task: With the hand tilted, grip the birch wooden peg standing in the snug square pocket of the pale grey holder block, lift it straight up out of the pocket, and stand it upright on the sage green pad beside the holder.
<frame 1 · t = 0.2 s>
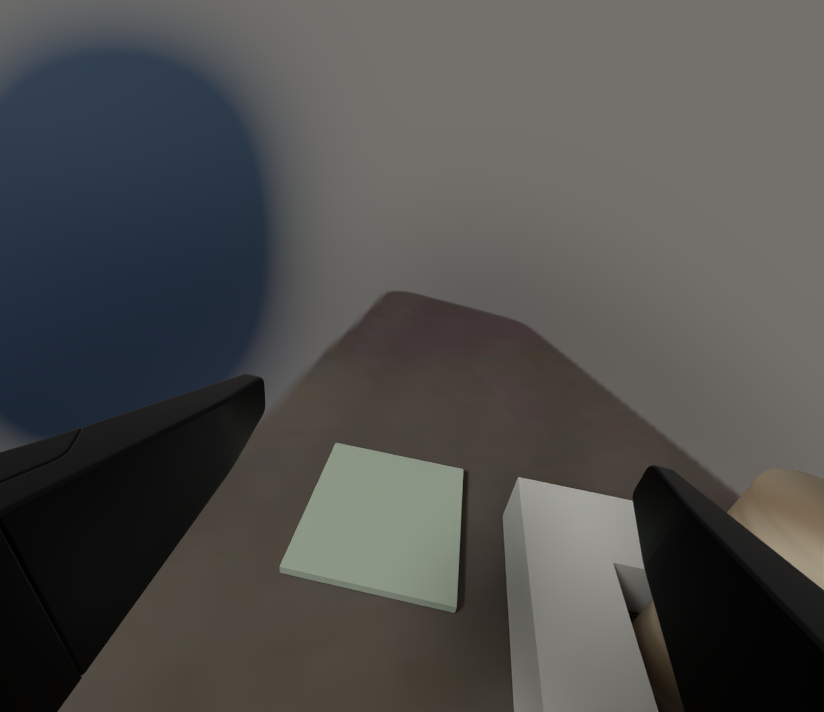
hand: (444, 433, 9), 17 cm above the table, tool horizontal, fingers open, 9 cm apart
green pad: (384, 516, 26), on the table
wooden peg: (737, 620, 17), in the pocket block
pocket block: (665, 682, 20), on the table
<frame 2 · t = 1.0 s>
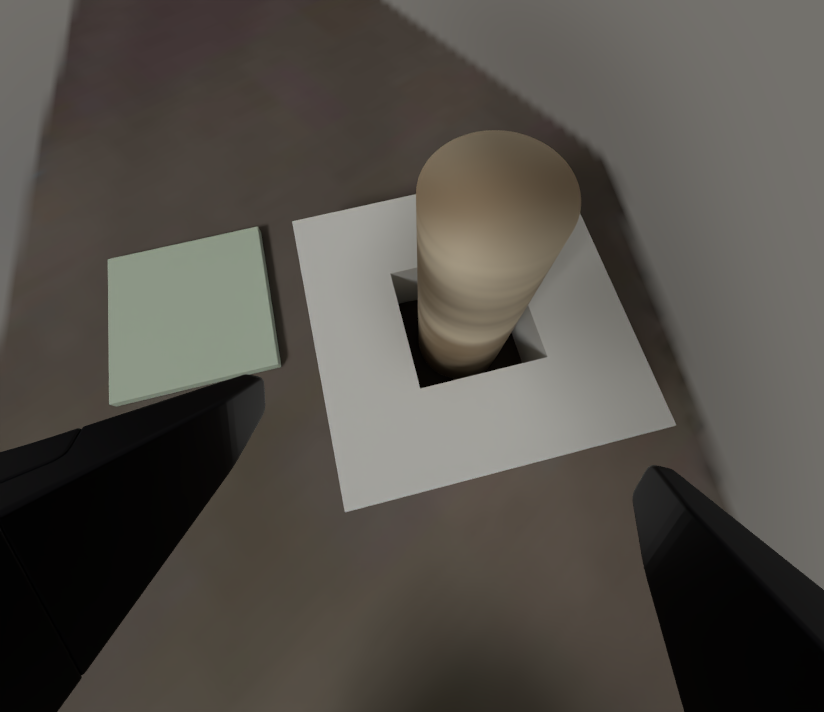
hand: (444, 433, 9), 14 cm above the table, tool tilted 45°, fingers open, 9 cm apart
green pad: (193, 313, 25), on the table
wooden peg: (471, 291, 18), in the pocket block
pocket block: (458, 339, 24), on the table
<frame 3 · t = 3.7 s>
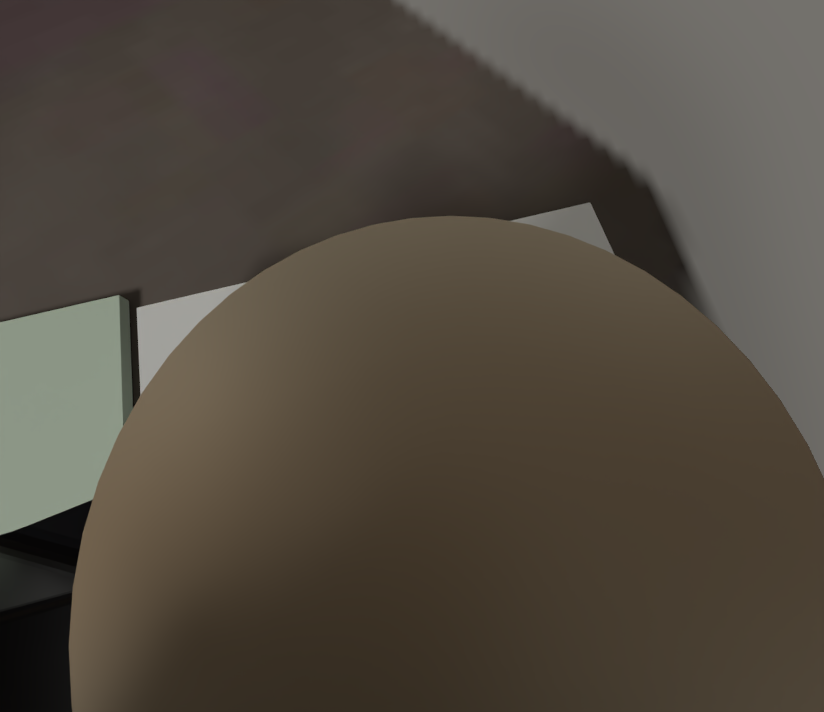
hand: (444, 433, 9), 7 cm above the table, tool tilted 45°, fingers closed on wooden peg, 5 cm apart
green pad: (9, 438, 16), on the table
wooden peg: (432, 495, 9), in the pocket block, touching gripper
pocket block: (427, 488, 15), on the table
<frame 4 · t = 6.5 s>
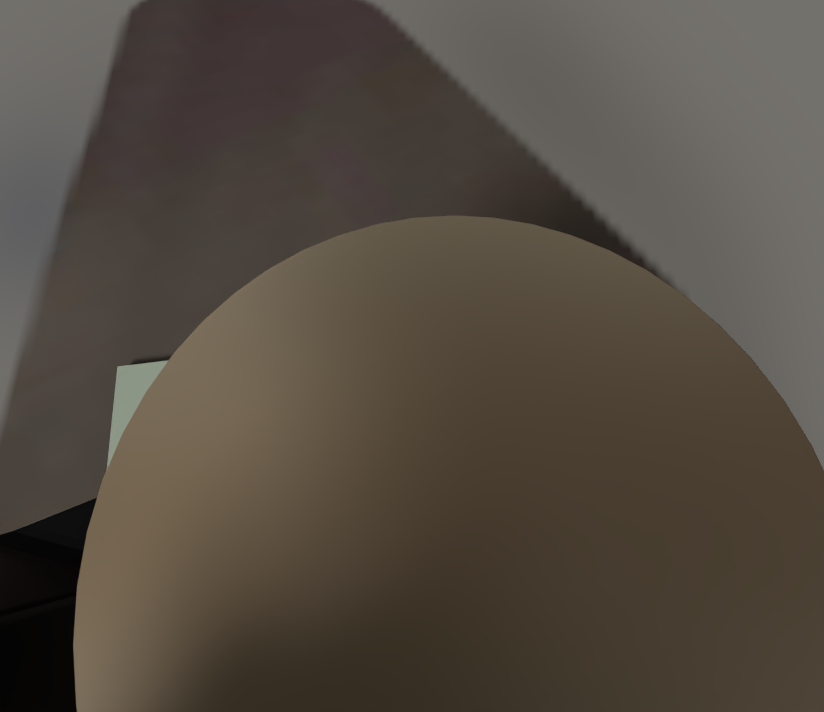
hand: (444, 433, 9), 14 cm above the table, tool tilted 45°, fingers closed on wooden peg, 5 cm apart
green pad: (203, 441, 23), on the table
wooden peg: (433, 495, 9), point 13 cm above the table, touching gripper
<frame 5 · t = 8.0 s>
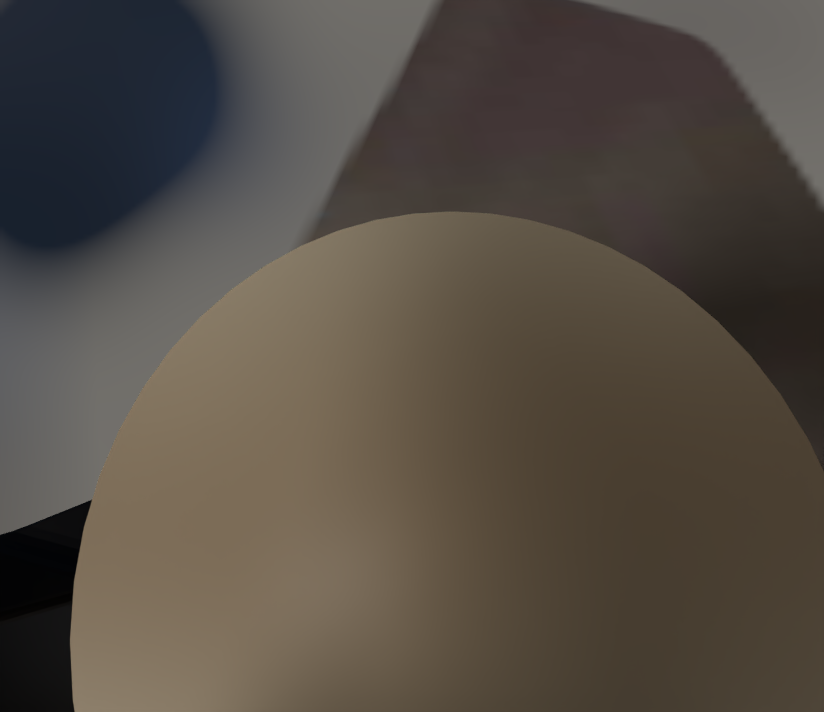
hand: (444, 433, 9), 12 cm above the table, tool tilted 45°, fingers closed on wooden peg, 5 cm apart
wooden peg: (432, 493, 9), point 12 cm above the table, touching gripper
when the fingers open (8 cm above the table, at t = 9.1 s): wooden peg drops 1 cm, resting on green pad.
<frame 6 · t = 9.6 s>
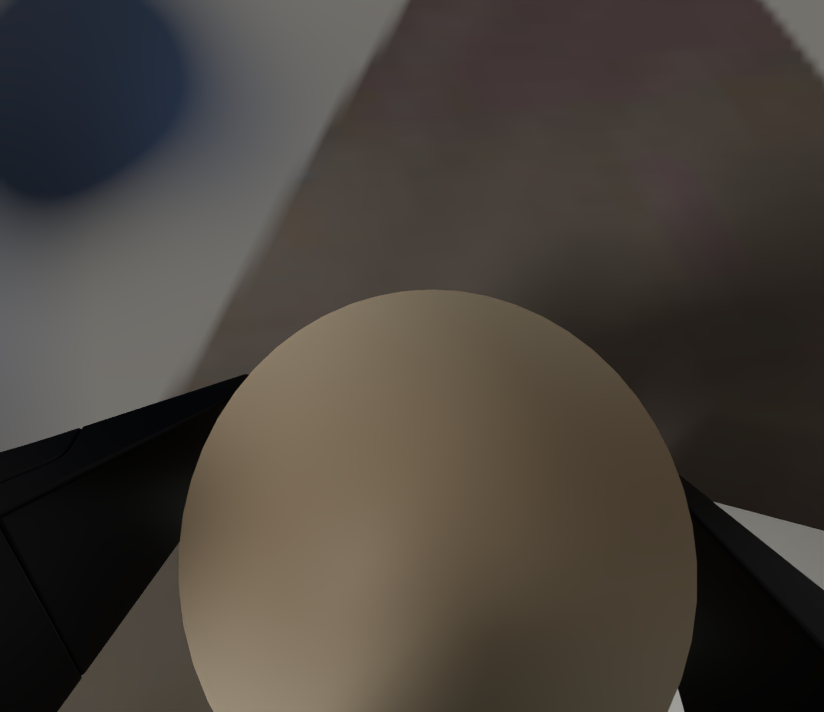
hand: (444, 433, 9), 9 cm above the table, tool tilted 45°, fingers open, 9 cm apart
wooden peg: (427, 494, 10), on the green pad, point 7 cm above the table
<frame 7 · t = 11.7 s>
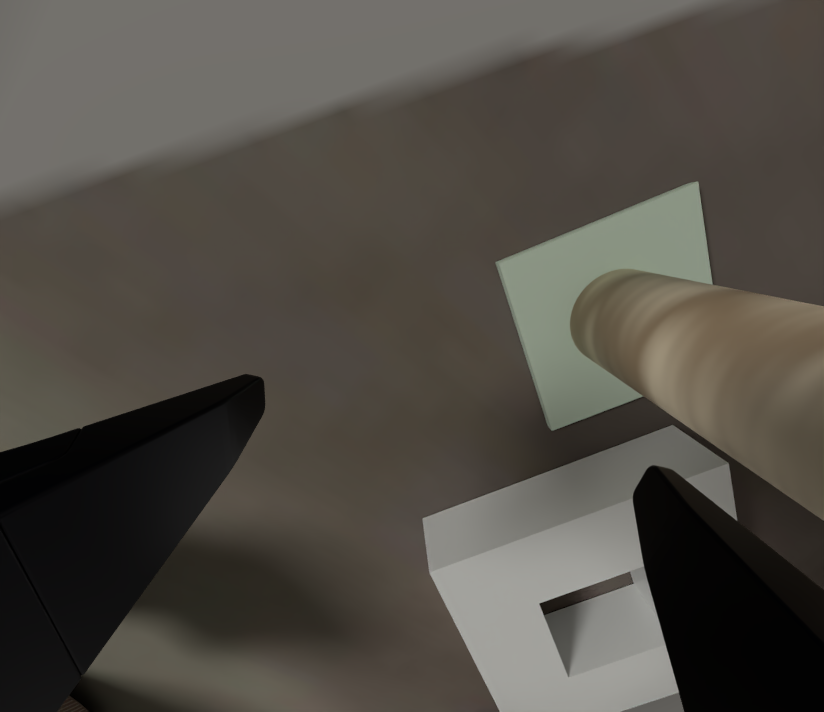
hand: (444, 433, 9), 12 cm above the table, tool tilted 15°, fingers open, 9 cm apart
green pad: (611, 315, 21), on the table
wooden peg: (716, 359, 14), on the green pad, point 7 cm above the table
pocket block: (576, 566, 26), on the table
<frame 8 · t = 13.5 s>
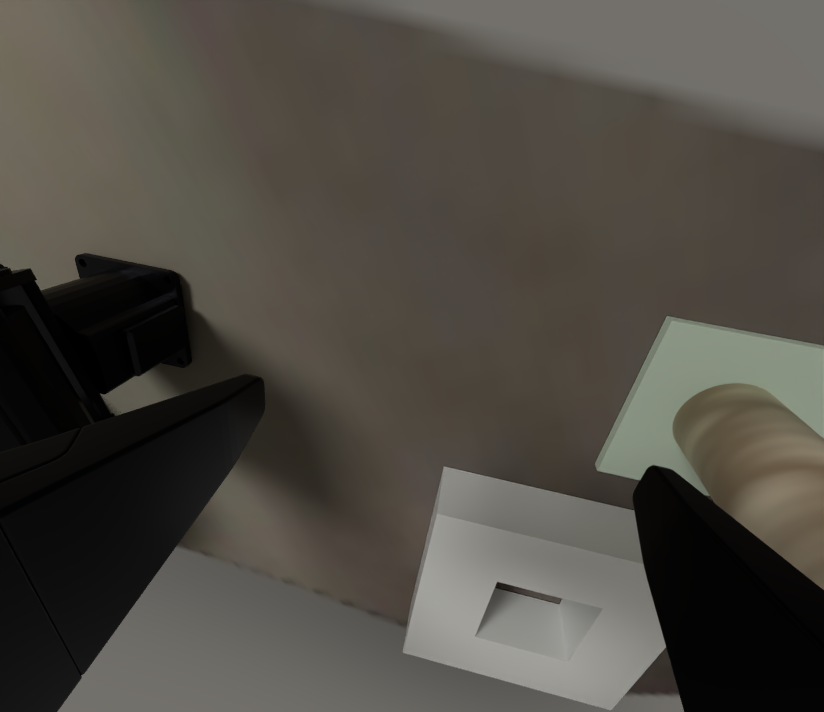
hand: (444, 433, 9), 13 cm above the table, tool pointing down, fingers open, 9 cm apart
green pad: (720, 417, 22), on the table
wooden peg: (810, 522, 15), on the green pad, point 7 cm above the table
pocket block: (529, 568, 30), on the table
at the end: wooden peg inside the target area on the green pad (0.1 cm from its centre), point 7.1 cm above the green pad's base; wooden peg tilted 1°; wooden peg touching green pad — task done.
